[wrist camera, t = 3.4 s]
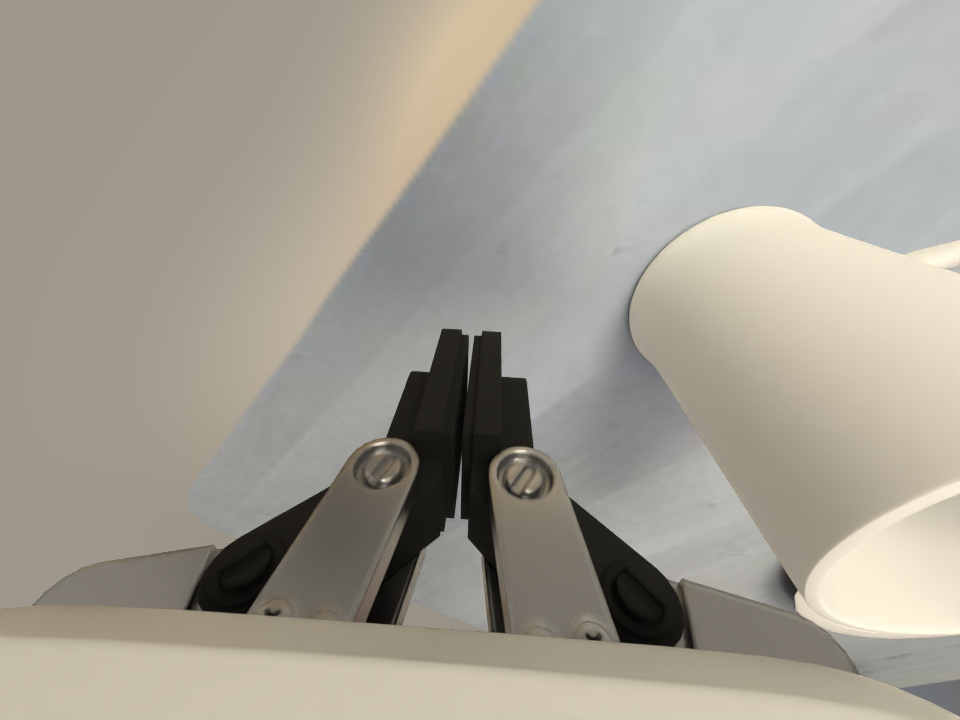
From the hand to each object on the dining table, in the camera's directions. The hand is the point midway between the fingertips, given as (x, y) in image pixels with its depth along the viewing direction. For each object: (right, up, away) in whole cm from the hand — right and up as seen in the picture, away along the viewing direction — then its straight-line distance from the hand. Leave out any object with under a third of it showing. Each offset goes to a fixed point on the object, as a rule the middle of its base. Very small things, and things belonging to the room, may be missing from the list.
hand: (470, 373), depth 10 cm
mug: (+13, +4, +6) cm, 15 cm away
